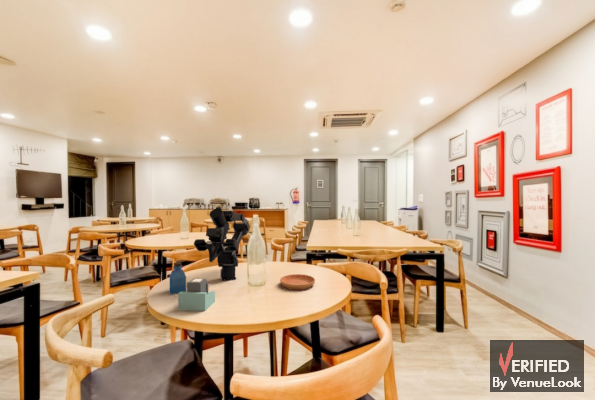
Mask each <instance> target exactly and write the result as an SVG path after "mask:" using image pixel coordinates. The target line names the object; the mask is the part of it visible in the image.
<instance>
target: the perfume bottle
mask: <svg viewBox="0 0 595 400" xmlns="http://www.w3.org/2000/svg"><path fill="white" fill-rule="evenodd" d="M182 268H183V265H182V261H181V262H180V261H178V262H174V263H173V267H172V269H173V270H171V272H170V274H169V295H175V294H176V295H177V294H178V293H179V292H187V276H186V274H185V272H184V270H183V269H182Z"/></svg>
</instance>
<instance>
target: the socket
mask: <svg viewBox="0 0 595 400" xmlns="http://www.w3.org/2000/svg"><path fill="white" fill-rule="evenodd" d="M177 294H178V295H177V297H178V298H177V301H178V302H177V304H178V306H177V307H178V308H177V310H178V311H192V312H193V311H194V312H195V311H197V312H198V311H200V312H205V311H207V310H208V309H209V308H210V307H211V306H212V305H213V304H214V303H215V302H216V297H215V296H216V295H215V294H216V291H215V290H210V291H208V294H207V292H187V291H186V292H179V293H177Z"/></svg>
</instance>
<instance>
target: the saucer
mask: <svg viewBox="0 0 595 400" xmlns="http://www.w3.org/2000/svg"><path fill="white" fill-rule="evenodd" d="M279 281H280V284H281V285H282V286H283V287H284V288H286V289H289V290H295V291H296V290H297V291H299V290H307V289H309V288H311V287H312V286H313V285H314V284H315V282H316V279H315V277H314V276H311V275H308V274H301V273H299V274H298V273H296V274H295V273H294V274H287V275H284V276H281V277H280V280H279Z"/></svg>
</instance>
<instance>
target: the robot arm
mask: <svg viewBox="0 0 595 400" xmlns="http://www.w3.org/2000/svg"><path fill="white" fill-rule="evenodd" d="M209 217H210V219H211V221H212V223H213V225H214V226H215V227H209V228H206V233H205V236H206V237H208V240H207V241H206V240H205V238H204V239H203V238H200V239H198V238H197V239H196V238H195V240H194V242H193V245H194V247H195V248H196V250H197V251H198V252H206V251H208V260H209V261H208V262H209V263H213V262H214V261H215V260H216V258H217V266H218V267H219V268H221V269H220V270H219V271H220V272H219V273H220V275H219V276H220V277H219V278H220V279H221V280H222V281H223V282H224V281H229V280H230V281H231V280H237V277H236V267H239V260H238V257H237V255H236V252H237V251H238V250H239V245H240V243H241V241H242V239H243V237H244V236H246V235H248V233H249V231H250V230H251V229H250V228H251V227H250V223H249V220H248V219H247V218H245V214H243V213H235V211H234V210H223V209H222V207H221V206H216V207H215V208H214V209H212V210H211V211H209ZM229 223H232V228H233V230H234V231H233V232H234V233H233V234H232V237H231V238H228V236H227V235H228V231H230V229H231V228H230V224H229Z"/></svg>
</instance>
